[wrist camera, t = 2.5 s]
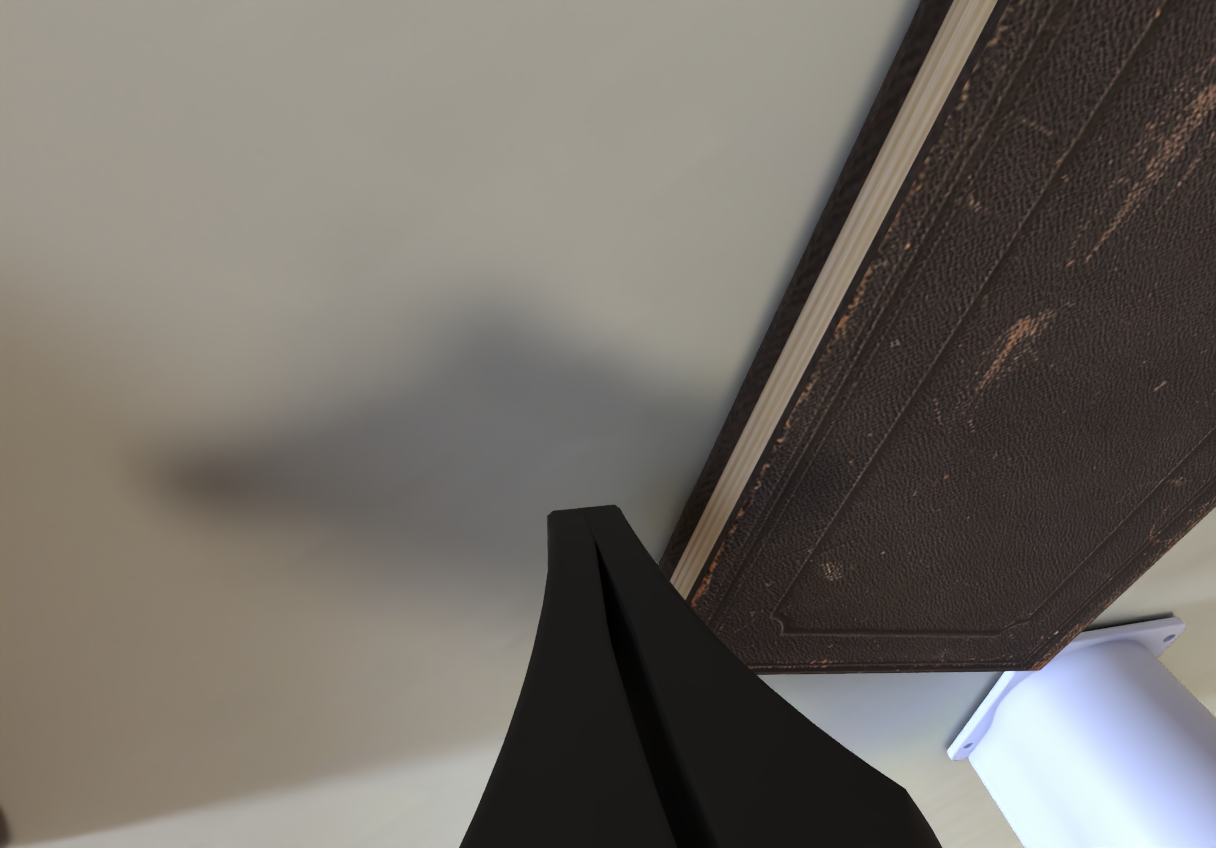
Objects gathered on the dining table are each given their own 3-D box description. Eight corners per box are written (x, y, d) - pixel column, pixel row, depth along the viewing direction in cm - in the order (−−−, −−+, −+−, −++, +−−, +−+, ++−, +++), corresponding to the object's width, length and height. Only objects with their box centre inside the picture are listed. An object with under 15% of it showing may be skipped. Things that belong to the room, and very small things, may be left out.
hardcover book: (635, 612, 20) (652, 677, 18) (1182, -569, 8) (1399, -725, 6) (1007, 620, 25) (1050, 671, 23) (1690, -93, 13) (1890, -100, 11)
